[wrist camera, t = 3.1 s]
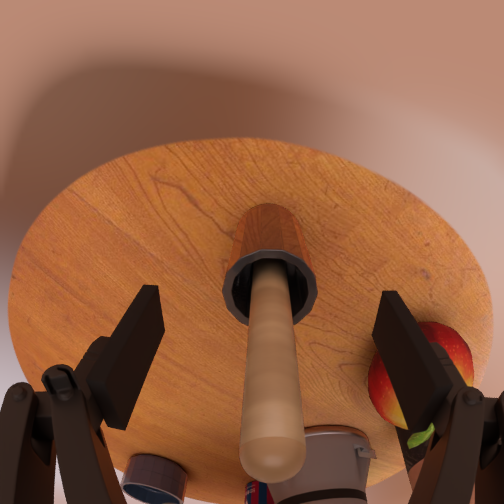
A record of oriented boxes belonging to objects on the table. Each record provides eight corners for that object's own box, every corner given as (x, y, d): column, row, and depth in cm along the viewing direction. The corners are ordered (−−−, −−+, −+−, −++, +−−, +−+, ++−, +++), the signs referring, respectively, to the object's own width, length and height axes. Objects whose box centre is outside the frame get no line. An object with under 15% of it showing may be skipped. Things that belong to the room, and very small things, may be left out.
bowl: (192, 483, 43) (187, 511, 38) (137, 474, 44) (130, 500, 38) (183, 457, 39) (177, 490, 34) (122, 447, 40) (111, 476, 34)
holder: (298, 264, 26) (312, 331, 18) (236, 262, 26) (223, 329, 18) (302, 204, 24) (322, 251, 16) (235, 202, 24) (220, 248, 16)
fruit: (466, 312, 28) (513, 373, 18) (420, 385, 32) (448, 449, 23) (385, 296, 27) (427, 371, 18) (343, 380, 31) (360, 457, 22)
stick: (281, 249, 25) (303, 492, 8) (255, 248, 25) (237, 491, 8) (282, 224, 24) (313, 464, 7) (255, 224, 24) (235, 464, 7)
